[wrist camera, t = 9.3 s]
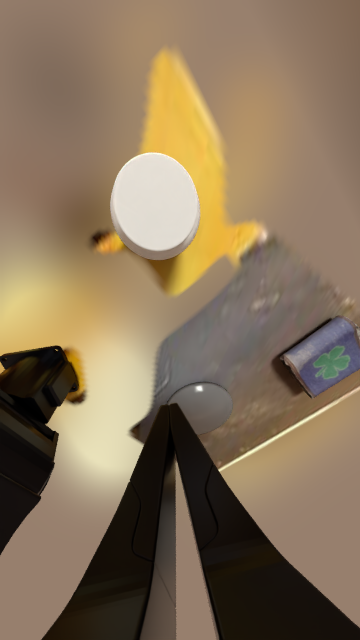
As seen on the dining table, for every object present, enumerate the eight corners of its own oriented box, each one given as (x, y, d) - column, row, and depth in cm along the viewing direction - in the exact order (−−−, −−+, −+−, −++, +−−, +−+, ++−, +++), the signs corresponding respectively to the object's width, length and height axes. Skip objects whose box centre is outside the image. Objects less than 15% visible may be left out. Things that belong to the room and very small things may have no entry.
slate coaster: (170, 436, 30) (170, 440, 29) (160, 389, 25) (160, 392, 25) (231, 424, 30) (232, 427, 30) (230, 376, 26) (232, 379, 25)
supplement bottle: (153, 265, 19) (151, 287, 10) (113, 217, 17) (67, 193, 8) (195, 228, 18) (234, 218, 9) (159, 173, 16) (163, 91, 7)
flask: (288, 365, 22) (368, 308, 21) (273, 352, 25) (344, 300, 24) (316, 403, 26) (387, 356, 24) (300, 388, 29) (363, 345, 27)
